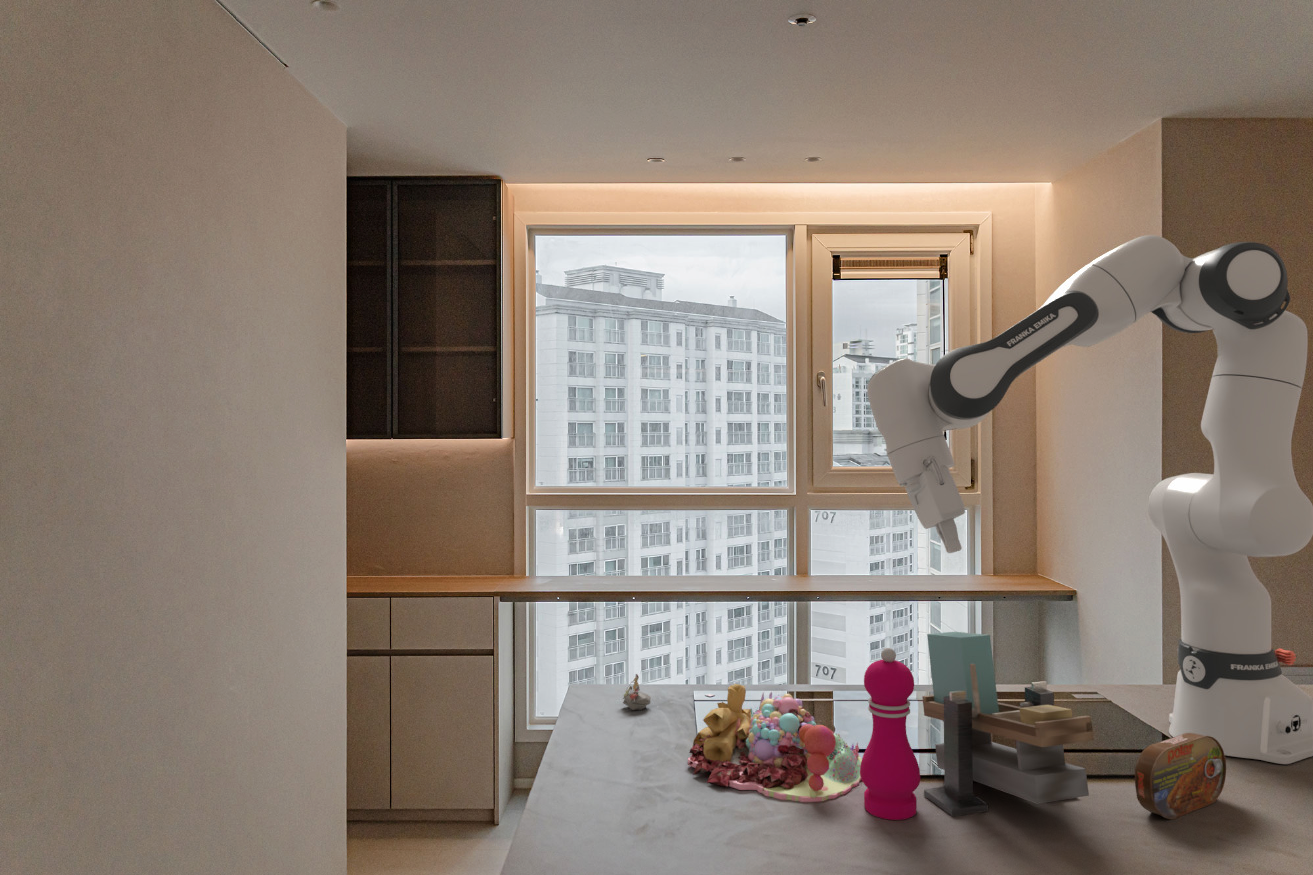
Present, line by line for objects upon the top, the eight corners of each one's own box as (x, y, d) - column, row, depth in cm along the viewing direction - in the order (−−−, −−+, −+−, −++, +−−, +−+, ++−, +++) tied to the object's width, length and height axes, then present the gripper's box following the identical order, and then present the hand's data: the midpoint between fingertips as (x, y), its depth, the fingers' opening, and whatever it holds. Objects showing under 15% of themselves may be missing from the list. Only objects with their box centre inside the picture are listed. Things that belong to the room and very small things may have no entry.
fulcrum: (1043, 777, 115) (1042, 673, 115) (1076, 796, 110) (1075, 686, 109) (924, 795, 111) (922, 686, 110) (951, 816, 105) (950, 701, 105)
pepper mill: (923, 824, 103) (921, 657, 102) (861, 819, 104) (859, 654, 104) (917, 798, 110) (916, 641, 110) (859, 794, 111) (857, 639, 111)
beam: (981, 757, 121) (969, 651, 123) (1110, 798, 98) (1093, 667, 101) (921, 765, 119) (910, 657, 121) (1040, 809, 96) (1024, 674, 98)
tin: (1154, 826, 102) (1154, 755, 101) (1129, 816, 104) (1128, 746, 104) (1229, 798, 108) (1229, 732, 108) (1203, 789, 111) (1203, 724, 111)
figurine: (654, 706, 147) (654, 672, 147) (645, 714, 143) (644, 680, 143) (627, 703, 149) (626, 670, 149) (617, 711, 145) (616, 677, 145)
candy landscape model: (664, 784, 116) (663, 716, 116) (717, 725, 138) (716, 668, 138) (852, 813, 107) (852, 739, 107) (878, 745, 129) (877, 683, 129)
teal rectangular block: (962, 704, 121) (954, 631, 122) (999, 712, 113) (989, 634, 115) (935, 707, 120) (927, 634, 121) (969, 716, 112) (960, 637, 114)
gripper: (953, 446, 121) (990, 541, 118) (933, 466, 141) (964, 548, 138) (909, 460, 122) (944, 555, 119) (895, 478, 141) (925, 560, 139)
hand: (955, 552), depth 128 cm, fingers closed
